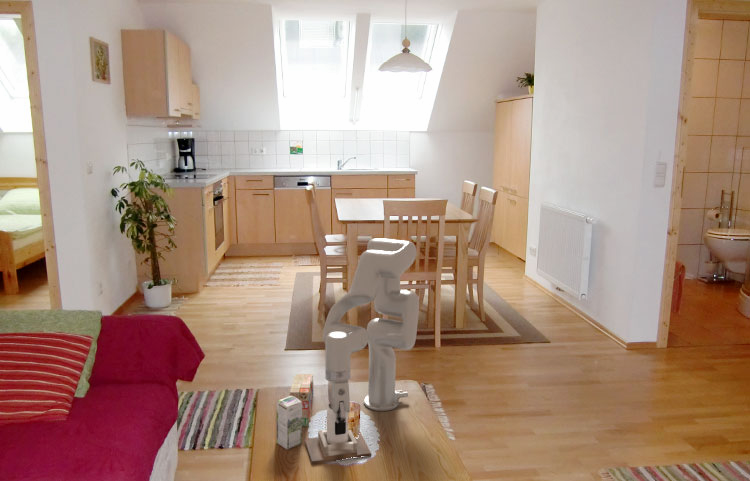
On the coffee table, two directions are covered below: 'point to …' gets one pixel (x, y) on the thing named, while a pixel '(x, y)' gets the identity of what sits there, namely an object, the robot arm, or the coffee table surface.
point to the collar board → (335, 448)
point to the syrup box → (289, 422)
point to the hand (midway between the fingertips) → (337, 427)
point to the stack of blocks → (303, 394)
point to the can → (331, 435)
